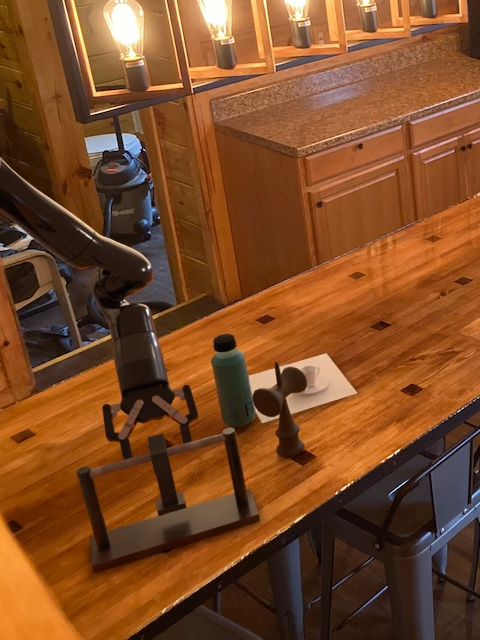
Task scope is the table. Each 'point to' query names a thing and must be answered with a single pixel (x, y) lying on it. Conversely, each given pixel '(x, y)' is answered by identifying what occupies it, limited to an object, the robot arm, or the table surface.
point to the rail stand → (172, 526)
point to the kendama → (282, 407)
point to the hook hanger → (164, 477)
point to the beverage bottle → (232, 382)
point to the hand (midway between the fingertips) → (159, 454)
